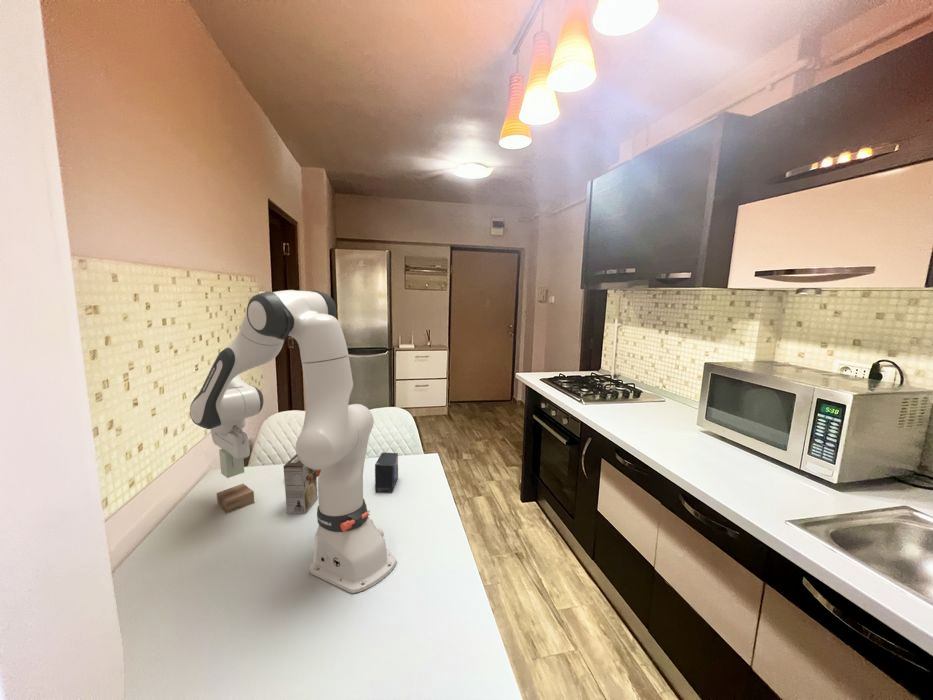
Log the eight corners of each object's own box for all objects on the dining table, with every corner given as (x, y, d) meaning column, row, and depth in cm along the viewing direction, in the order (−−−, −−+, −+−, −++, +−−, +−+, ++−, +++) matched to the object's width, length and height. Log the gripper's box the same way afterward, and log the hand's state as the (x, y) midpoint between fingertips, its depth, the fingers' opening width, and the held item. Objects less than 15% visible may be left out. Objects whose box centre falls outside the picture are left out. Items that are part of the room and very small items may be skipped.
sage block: (244, 472, 123) (242, 449, 122) (227, 478, 119) (225, 454, 118) (238, 467, 126) (236, 445, 125) (221, 473, 122) (219, 449, 121)
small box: (393, 493, 132) (392, 465, 130) (374, 493, 132) (373, 464, 130) (399, 478, 142) (398, 452, 141) (381, 478, 142) (381, 451, 141)
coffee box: (299, 498, 128) (296, 453, 126) (318, 498, 128) (315, 453, 126) (286, 513, 119) (282, 465, 117) (306, 514, 119) (303, 466, 117)
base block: (254, 502, 125) (253, 491, 125) (227, 513, 119) (226, 501, 118) (244, 494, 130) (243, 483, 129) (217, 504, 124) (216, 493, 123)
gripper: (254, 427, 116) (257, 470, 119) (227, 413, 129) (230, 452, 131) (231, 433, 112) (235, 477, 114) (205, 418, 124) (209, 458, 126)
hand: (232, 463), depth 122 cm, fingers closed on sage block, 5 cm apart
